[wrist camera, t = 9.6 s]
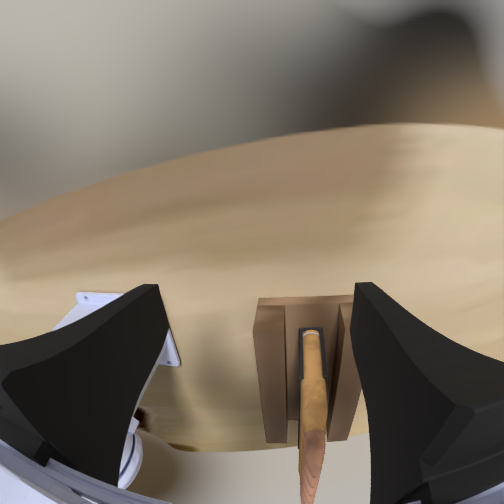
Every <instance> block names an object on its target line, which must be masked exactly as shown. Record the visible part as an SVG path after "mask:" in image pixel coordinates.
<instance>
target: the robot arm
mask: <svg viewBox="0 0 504 504" xmlns="http://www.w3.org/2000/svg"><path fill="white" fill-rule="evenodd" d="M87 297H88V298H87ZM76 300H77V302H78V304H77V305H76V306H75V307H74V308H73V309H72V310H71V311H70V312H69V313H68V314H67V315H66V316H65V317H64V318H63V319H62V320H61V321H60V322H59V323H58V324H57V325H56V326H55V327H54V329H53V330H52V331H51V332H48V333H46V334H43V335H40V336H37V337H34V338H31V339H27V340H23V341H19V342H15V343H10V344H4V345H0V504H173V503H169V502H165V501H161V500H157V499H153V498H149V497H146V496H143V495H139V494H136V493H133V492H130V491H127V490H125V489H126V488H127V487H128V486H129V485H130V484H131V482H132V481H133V480H134V478H135V476H136V475H137V473H138V471H139V469H140V466H141V463H142V458H143V449H142V440H141V438H140V437H139V435H138V434H136V433H135V431H136V428H137V426H138V424H139V421H138V420H136V419H135V418H134V417H133V416H134V414H135V412H136V410H137V408H138V405H139V403H140V401H141V399H142V397H143V395H144V393H145V391H146V389H147V387H148V385H149V383H150V381H151V379H152V377H153V375H154V373H155V371H156V369H157V367H158V365H167V366H179V364H180V359H179V356H178V353H177V350H176V347H175V344H174V341H173V338H172V334H171V331H170V328H169V325H168V321H167V317H166V314H165V310H164V306H163V302H162V298H161V294H160V290H159V286H158V284H143V285H141V286H138V287H136V288H134V289H132V290H131V291H129V292H127V293H125V294H121V293H94V292H78V293H77V294H76ZM350 336H351V343H352V350H353V355H354V359H355V363H356V367H357V371H358V374H359V378H360V382H361V386H362V390H363V394H364V398H365V402H366V408H367V414H368V424H369V435H370V449H371V450H370V452H371V495H370V504H504V362H502V361H499V360H496V359H493V358H490V357H488V356H485V355H482V354H480V353H477V352H475V351H473V350H471V349H468V348H466V347H464V346H462V345H460V344H458V343H456V342H454V341H452V340H450V339H449V338H447V337H445V336H444V335H442V334H440V333H439V332H437V331H435V330H434V329H432V328H430V327H429V326H427V325H426V324H425V323H423V322H422V321H420V320H419V319H418V318H416V317H415V316H413V315H412V314H411V313H410V312H408V311H407V310H406V309H404V308H403V307H402V306H401V305H399V304H398V303H397V302H396V301H395V300H393V299H392V298H391V297H390V296H389V295H387V294H386V293H385V292H384V291H383V290H381V289H380V288H379V287H378V286H376V285H375V284H374V283H372V282H362V283H355V290H354V299H353V308H352V315H351V323H350ZM170 361H171V362H170Z"/></svg>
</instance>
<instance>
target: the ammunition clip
mask: <svg viewBox="0 0 504 504" xmlns="http://www.w3.org/2000/svg"><path fill="white" fill-rule="evenodd" d="M327 380H328V373H327V363H326V353H325V344H324V335H323V328H322V327H310V328H299V423H298V449H299V475H300V496H301V504H313V502H314V498H315V494H316V490H317V485H318V482H319V477H320V473H321V469H322V464H323V460H324V454H325V434H326V420H327V413H328V409H327V393H326V389H327Z"/></svg>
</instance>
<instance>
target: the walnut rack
mask: <svg viewBox="0 0 504 504" xmlns="http://www.w3.org/2000/svg"><path fill="white" fill-rule="evenodd" d="M353 299H354V295H341V296H319V297H290V298H259V300H258V305H257V311H256V316H255V322H254V327H253V337H254V346H255V354H256V362H257V371H258V379H259V387H260V395H261V403H262V412H263V420H264V428H265V435H266V443H287V428H288V420H299V328H310V327H322V328H323V335H324V344H325V353H326V363H327V373H328V380H327V389H326V393H327V409H328V413H327V420H326V430H327V442H332V441H344V440H347V438H348V435H349V432H350V429H351V425H352V422H353V418H354V415H355V411H356V408H357V404H358V400H359V397H360V393H361V389H362V386H361V382H360V378H359V374H358V371H357V367H356V363H355V359H354V355H353V350H352V343H351V336H350V323H351V315H352V308H353Z"/></svg>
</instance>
